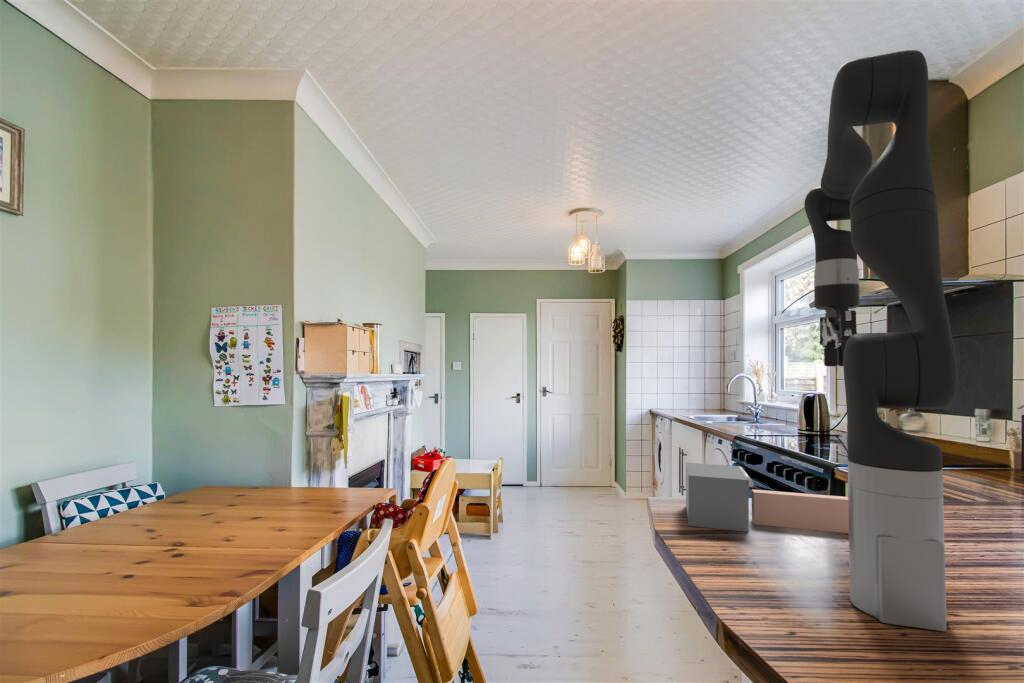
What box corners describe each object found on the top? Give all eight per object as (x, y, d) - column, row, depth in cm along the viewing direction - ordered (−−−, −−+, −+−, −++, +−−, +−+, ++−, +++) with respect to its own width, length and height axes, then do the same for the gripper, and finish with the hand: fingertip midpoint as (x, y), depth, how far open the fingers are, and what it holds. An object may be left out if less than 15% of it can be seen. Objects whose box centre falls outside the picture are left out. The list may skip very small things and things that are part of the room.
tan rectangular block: (853, 534, 89) (852, 500, 90) (754, 525, 94) (753, 492, 94) (848, 530, 92) (847, 496, 92) (751, 521, 96) (751, 489, 97)
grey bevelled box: (754, 532, 89) (754, 480, 89) (688, 525, 92) (688, 475, 92) (743, 511, 102) (742, 466, 103) (685, 506, 105) (685, 462, 106)
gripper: (872, 278, 93) (873, 366, 92) (845, 289, 106) (847, 366, 106) (825, 279, 95) (826, 366, 94) (805, 290, 109) (806, 366, 108)
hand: (837, 366), depth 100 cm, fingers open, 8 cm apart
